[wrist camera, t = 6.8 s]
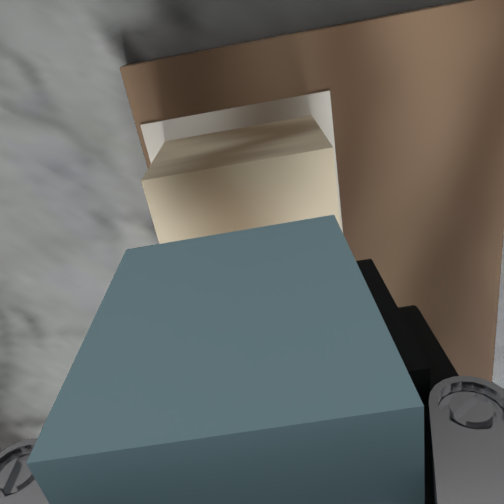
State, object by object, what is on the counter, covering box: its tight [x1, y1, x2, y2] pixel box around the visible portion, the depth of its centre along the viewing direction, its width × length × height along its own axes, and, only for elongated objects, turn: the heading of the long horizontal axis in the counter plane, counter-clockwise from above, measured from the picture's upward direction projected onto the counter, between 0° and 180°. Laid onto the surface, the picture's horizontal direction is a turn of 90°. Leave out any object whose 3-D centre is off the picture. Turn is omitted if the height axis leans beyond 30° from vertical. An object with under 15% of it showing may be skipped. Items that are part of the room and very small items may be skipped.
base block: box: [141, 115, 341, 244], centre depth 18 cm, size 6×6×5 cm
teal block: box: [26, 215, 425, 504], centre depth 10 cm, size 5×5×6 cm
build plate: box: [120, 0, 504, 382], centre depth 22 cm, size 15×20×1 cm
